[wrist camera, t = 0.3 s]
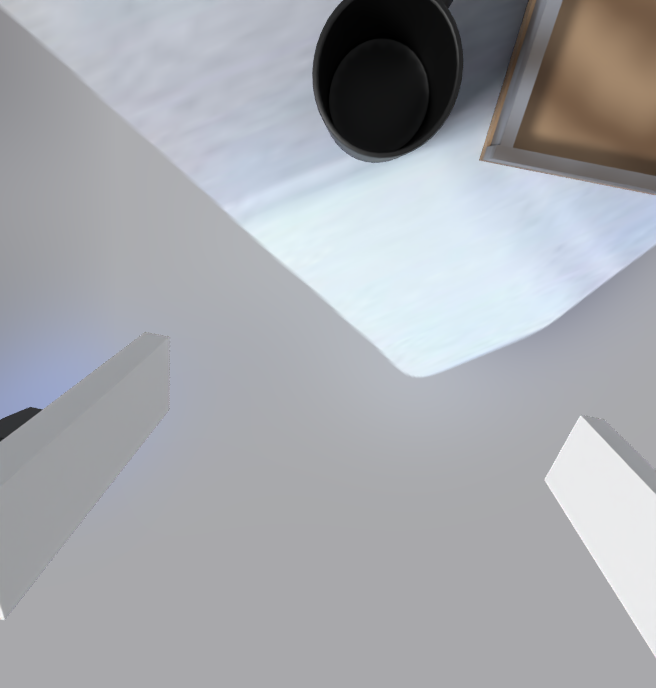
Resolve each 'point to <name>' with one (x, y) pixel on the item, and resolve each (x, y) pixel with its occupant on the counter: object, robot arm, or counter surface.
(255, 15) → the counter surface
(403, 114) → the mug
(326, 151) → the counter surface
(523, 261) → the counter surface
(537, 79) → the slot board
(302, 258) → the counter surface
